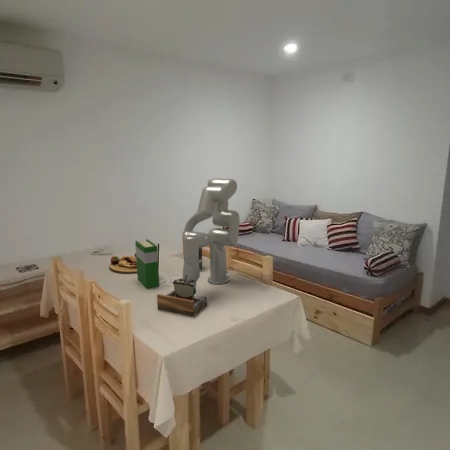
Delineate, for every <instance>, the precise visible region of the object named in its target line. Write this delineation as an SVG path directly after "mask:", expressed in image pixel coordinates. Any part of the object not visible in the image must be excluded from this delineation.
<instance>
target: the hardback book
mask: <svg viewBox="0 0 450 450" xmlns="http://www.w3.org/2000/svg"><path fill="white" fill-rule="evenodd" d="M134 243H135V253H136V260H137V273H136V274H137V275H136V276H137V281H138V282H139V283H141V286H143V287H144V288H145V289H146V290H150V289H155V288H159V287H160V274H159V273H160V271H159V264H158V263H159V255H158V253H159V251H158V245H156V244H155V243H154V242H152V241H150V240H149V239H148V238H147V239H145V240H142V241H138V240H135V242H134Z"/></svg>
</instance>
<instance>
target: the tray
mask: <svg viewBox="0 0 450 450" xmlns="http://www.w3.org/2000/svg"><path fill="white" fill-rule="evenodd" d="M156 304H157V310H160V311H164V312H168V313H173V314H178V315H182V316H185V317H186V316H187V317H192V318H193V317H195V316H197V315H198V313H200V312H201V311H203V309H204V308H206V307H207V306H208V297H207V296H203V297H202V298H195V297H194V301H193V300H187V299H182V298H177V297H175V290H172V291H170V292H169V293H167V294H163V293H158V294H157V295H156Z"/></svg>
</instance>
